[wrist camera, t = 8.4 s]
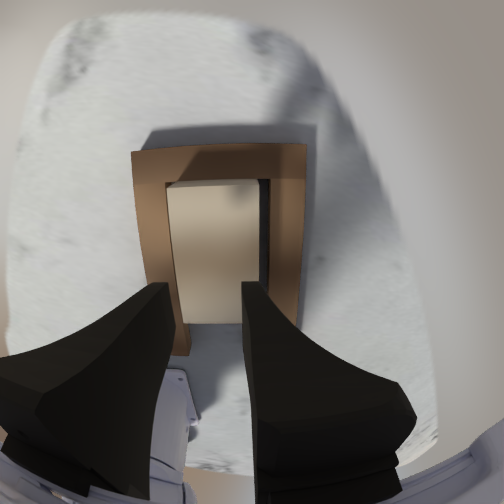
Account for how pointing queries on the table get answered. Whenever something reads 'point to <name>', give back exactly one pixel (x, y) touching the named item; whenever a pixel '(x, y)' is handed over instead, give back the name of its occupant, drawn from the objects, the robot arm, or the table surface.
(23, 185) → the table surface
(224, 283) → the beige rectangular block
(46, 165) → the table surface
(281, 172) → the brown frame section
